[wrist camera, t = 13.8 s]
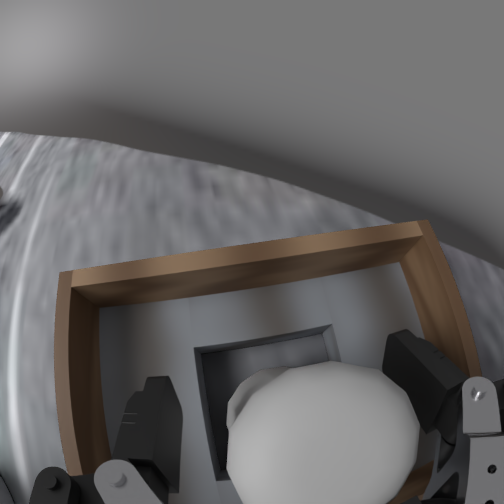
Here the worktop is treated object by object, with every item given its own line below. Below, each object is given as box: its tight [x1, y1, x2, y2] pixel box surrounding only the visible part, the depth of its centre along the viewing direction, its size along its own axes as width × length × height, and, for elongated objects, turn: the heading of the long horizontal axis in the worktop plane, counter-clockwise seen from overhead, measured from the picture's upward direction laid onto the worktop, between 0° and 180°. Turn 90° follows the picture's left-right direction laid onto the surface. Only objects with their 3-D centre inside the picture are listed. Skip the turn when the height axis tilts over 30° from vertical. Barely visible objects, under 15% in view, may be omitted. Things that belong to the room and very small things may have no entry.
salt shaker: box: [226, 361, 420, 504], centre depth 9 cm, size 6×6×13 cm
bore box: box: [54, 220, 482, 504], centre depth 13 cm, size 22×16×6 cm
